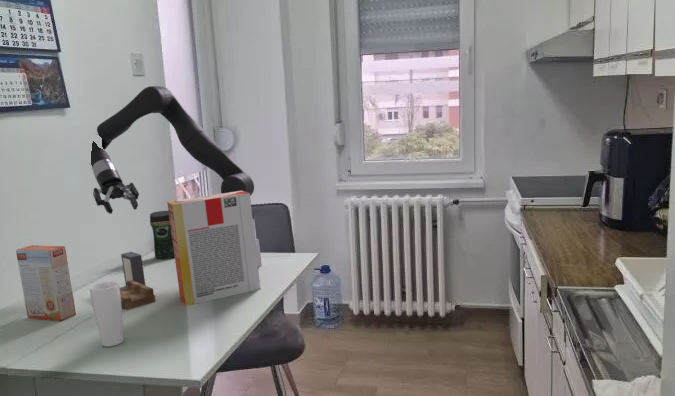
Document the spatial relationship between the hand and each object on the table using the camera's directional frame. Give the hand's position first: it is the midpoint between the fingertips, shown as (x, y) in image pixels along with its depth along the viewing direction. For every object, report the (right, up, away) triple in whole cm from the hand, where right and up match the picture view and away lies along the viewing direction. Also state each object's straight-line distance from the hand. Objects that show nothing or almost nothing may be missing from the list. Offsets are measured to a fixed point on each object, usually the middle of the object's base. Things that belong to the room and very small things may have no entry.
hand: (123, 210), depth 198 cm
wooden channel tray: (+9, -27, -19) cm, 35 cm away
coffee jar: (+6, -19, +33) cm, 39 cm away
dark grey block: (+6, -25, -4) cm, 26 cm away
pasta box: (+37, -25, -20) cm, 49 cm away
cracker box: (-11, -31, -28) cm, 43 cm away
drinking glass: (+17, -32, -53) cm, 64 cm away
